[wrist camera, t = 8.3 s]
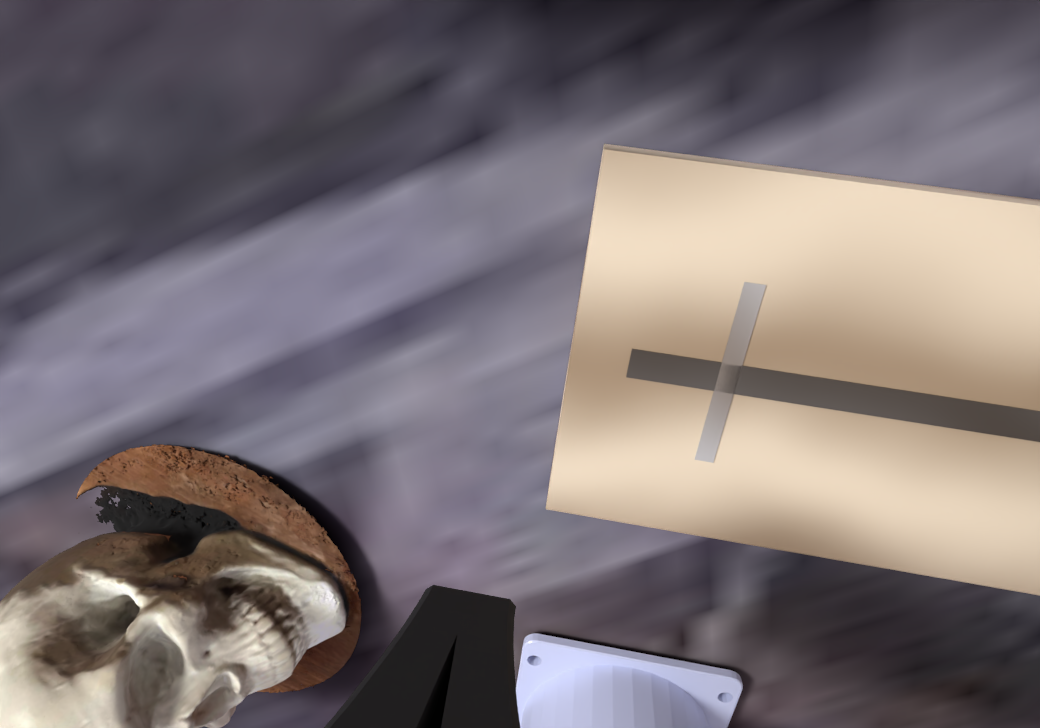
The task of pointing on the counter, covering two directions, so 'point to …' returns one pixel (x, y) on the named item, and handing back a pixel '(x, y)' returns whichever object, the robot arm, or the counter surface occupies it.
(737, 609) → the counter surface
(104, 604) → the skull
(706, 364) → the slider board
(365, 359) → the counter surface
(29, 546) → the counter surface
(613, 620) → the counter surface
